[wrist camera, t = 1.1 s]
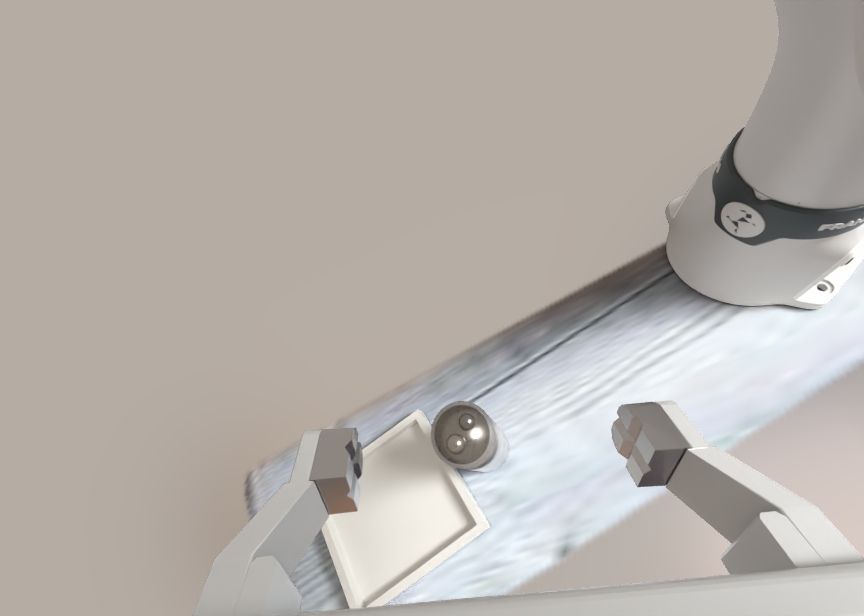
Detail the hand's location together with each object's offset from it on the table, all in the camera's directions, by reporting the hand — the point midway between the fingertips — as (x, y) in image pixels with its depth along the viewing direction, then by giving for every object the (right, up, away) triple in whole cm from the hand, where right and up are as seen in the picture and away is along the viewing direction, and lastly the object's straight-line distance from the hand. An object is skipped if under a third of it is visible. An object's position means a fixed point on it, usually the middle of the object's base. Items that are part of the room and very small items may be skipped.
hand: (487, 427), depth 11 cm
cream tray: (-6, -19, +29) cm, 35 cm away
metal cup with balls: (+4, -12, +29) cm, 32 cm away
